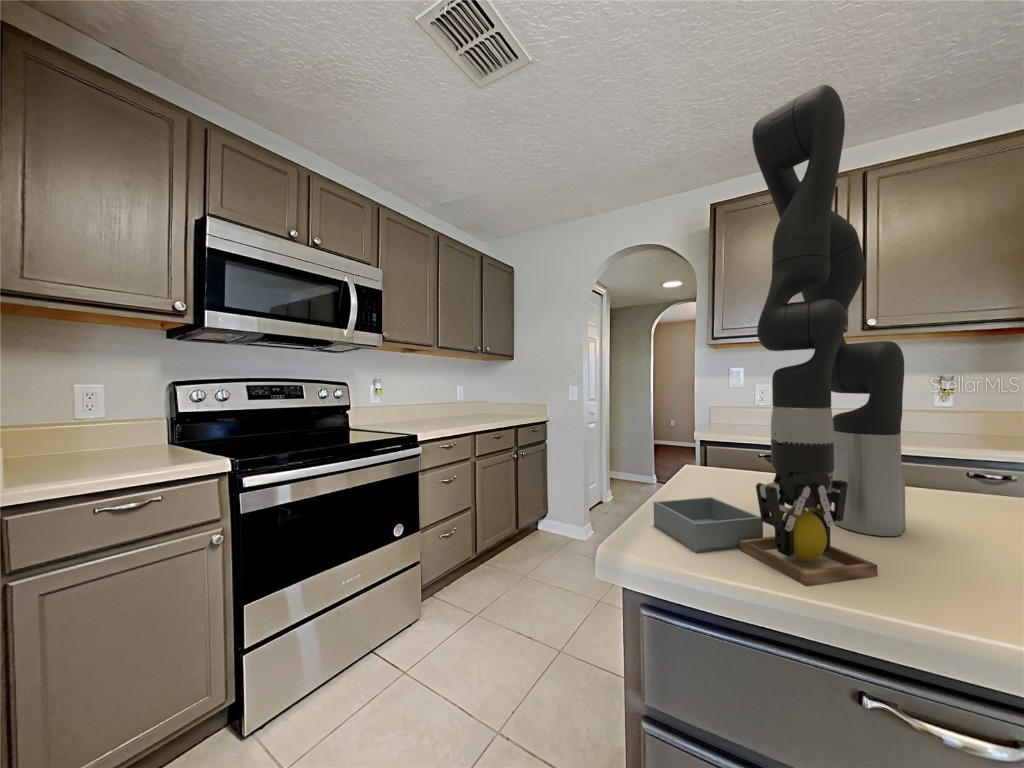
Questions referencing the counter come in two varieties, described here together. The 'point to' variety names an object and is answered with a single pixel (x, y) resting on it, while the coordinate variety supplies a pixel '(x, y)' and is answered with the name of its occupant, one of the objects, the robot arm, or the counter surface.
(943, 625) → the counter surface
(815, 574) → the tray
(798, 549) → the lemon
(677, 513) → the bin
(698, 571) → the counter surface
